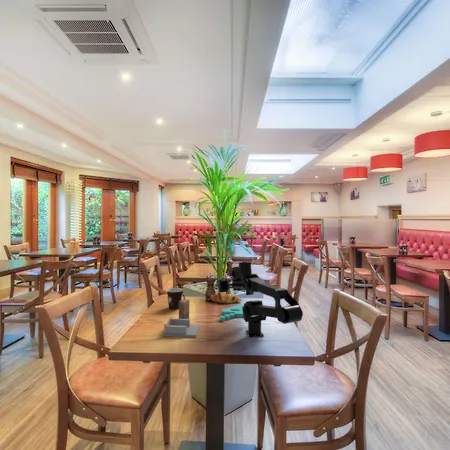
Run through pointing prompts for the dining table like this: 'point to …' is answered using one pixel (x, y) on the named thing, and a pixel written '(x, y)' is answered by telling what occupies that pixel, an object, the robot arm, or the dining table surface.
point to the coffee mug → (174, 297)
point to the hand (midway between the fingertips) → (228, 284)
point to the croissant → (224, 298)
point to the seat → (180, 328)
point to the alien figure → (232, 313)
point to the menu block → (184, 309)
